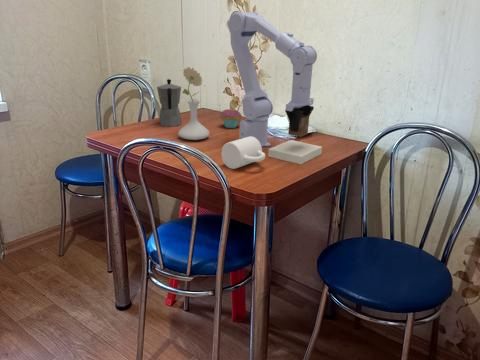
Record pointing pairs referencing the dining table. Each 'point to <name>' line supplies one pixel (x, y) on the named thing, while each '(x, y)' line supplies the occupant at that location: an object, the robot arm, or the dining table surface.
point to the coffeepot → (169, 104)
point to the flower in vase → (193, 110)
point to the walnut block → (301, 127)
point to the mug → (242, 152)
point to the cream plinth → (295, 152)
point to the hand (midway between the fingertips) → (298, 129)
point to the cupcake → (230, 117)
